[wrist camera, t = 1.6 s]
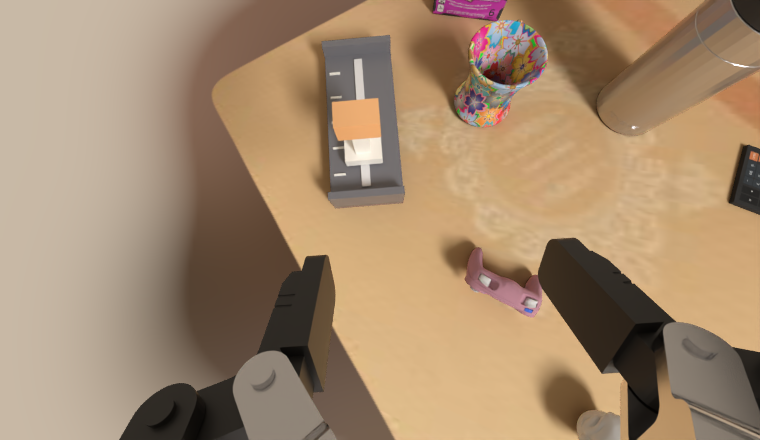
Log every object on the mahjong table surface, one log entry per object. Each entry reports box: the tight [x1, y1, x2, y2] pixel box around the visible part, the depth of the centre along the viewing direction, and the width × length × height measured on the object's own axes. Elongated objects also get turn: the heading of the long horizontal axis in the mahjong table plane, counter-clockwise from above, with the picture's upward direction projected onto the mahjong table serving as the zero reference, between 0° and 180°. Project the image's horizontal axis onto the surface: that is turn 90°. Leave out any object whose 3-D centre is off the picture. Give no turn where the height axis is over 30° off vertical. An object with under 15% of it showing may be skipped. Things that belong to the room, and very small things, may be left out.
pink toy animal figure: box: [465, 247, 542, 317], centre depth 36 cm, size 10×5×7 cm, turn 63°
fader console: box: [322, 35, 405, 208], centre depth 41 cm, size 24×10×5 cm, turn 4°
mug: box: [454, 20, 548, 127], centre depth 39 cm, size 12×9×11 cm
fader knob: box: [332, 98, 383, 166], centre depth 34 cm, size 4×5×10 cm
